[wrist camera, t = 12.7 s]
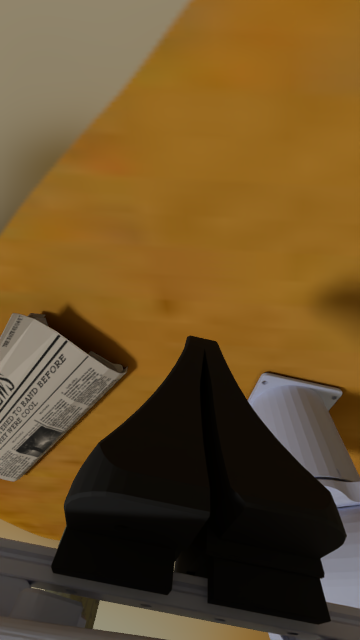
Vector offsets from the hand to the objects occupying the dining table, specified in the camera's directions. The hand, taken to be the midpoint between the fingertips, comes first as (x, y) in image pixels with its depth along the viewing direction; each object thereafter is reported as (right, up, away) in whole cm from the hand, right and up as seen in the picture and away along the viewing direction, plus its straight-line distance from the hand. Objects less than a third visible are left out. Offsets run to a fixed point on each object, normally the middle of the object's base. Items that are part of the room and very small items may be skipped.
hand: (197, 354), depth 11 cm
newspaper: (-21, -9, +21) cm, 31 cm away
